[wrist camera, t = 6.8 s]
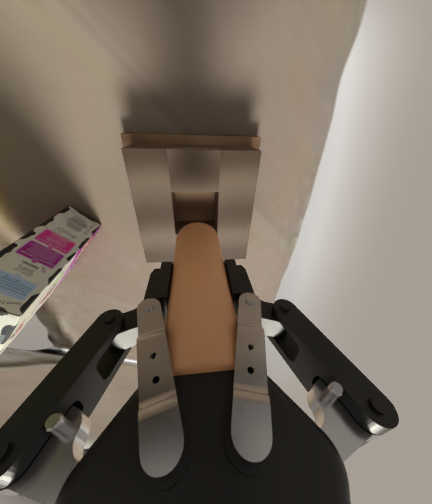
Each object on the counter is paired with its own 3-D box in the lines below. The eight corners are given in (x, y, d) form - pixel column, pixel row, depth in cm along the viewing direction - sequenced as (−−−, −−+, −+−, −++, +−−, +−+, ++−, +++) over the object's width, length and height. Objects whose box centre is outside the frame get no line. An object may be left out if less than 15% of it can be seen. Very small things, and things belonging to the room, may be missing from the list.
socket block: (124, 132, 22) (107, 135, 18) (257, 136, 24) (272, 140, 20) (147, 247, 31) (140, 268, 27) (243, 244, 33) (251, 263, 29)
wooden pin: (174, 222, 17) (149, 367, 7) (219, 222, 17) (256, 356, 7) (178, 259, 19) (163, 407, 9) (217, 257, 19) (244, 398, 10)
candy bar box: (66, 202, 26) (-65, 289, 13) (103, 224, 28) (23, 317, 15) (38, 254, 30) (-86, 362, 17) (71, 269, 32) (-13, 375, 19)
